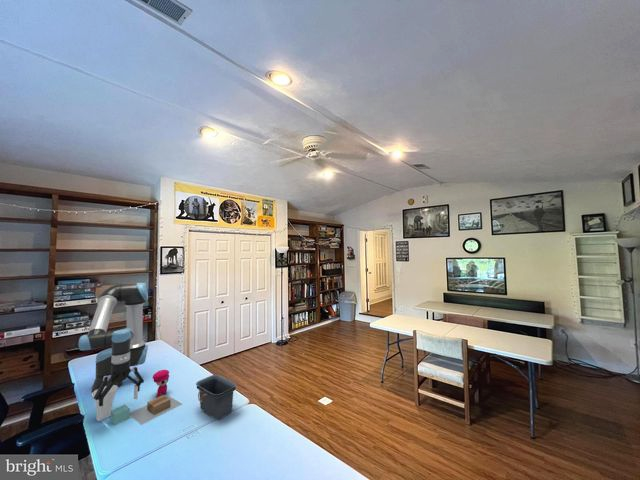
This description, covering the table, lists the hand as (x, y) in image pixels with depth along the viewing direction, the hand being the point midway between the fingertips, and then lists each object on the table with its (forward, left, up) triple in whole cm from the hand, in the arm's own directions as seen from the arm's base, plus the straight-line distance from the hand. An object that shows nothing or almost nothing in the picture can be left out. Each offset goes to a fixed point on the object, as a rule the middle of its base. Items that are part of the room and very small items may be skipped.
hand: (120, 405), depth 129 cm
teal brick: (0, 0, -8) cm, 8 cm away
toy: (-6, +22, -8) cm, 24 cm away
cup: (-11, -3, -8) cm, 14 cm away
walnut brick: (+7, +15, -7) cm, 18 cm away
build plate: (+6, +14, -8) cm, 17 cm away
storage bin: (+34, +30, -8) cm, 46 cm away
